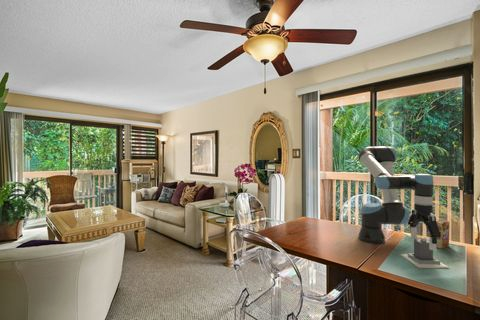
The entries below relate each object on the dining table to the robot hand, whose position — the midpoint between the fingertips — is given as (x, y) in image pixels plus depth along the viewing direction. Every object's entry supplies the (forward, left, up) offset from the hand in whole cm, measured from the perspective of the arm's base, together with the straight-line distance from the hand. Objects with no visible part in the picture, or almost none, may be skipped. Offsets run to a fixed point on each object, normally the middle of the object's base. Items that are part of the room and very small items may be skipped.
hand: (422, 244), depth 120 cm
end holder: (0, 0, -9) cm, 9 cm away
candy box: (-21, +25, -9) cm, 34 cm away
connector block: (0, 0, -8) cm, 8 cm away
